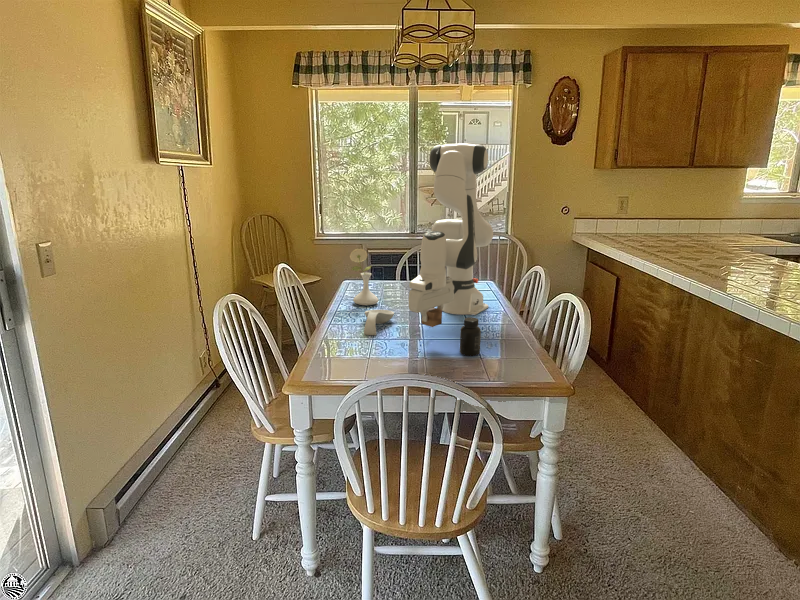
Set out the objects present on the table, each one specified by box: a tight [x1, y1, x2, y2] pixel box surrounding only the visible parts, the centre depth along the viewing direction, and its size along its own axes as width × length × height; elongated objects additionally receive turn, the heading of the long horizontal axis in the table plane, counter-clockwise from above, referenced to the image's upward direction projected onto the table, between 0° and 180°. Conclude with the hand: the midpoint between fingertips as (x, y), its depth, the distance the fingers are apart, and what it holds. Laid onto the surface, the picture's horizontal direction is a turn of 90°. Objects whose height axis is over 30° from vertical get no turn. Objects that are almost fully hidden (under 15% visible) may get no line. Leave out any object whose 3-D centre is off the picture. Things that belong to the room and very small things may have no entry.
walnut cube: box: [420, 307, 443, 328], centre depth 174 cm, size 5×5×5 cm
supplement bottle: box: [459, 316, 482, 357], centre depth 168 cm, size 7×7×12 cm
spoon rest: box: [363, 309, 395, 336], centre depth 196 cm, size 24×12×7 cm, turn 172°
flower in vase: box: [348, 248, 380, 306], centre depth 223 cm, size 13×11×25 cm
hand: (431, 319), depth 174 cm, fingers closed on walnut cube, 5 cm apart
